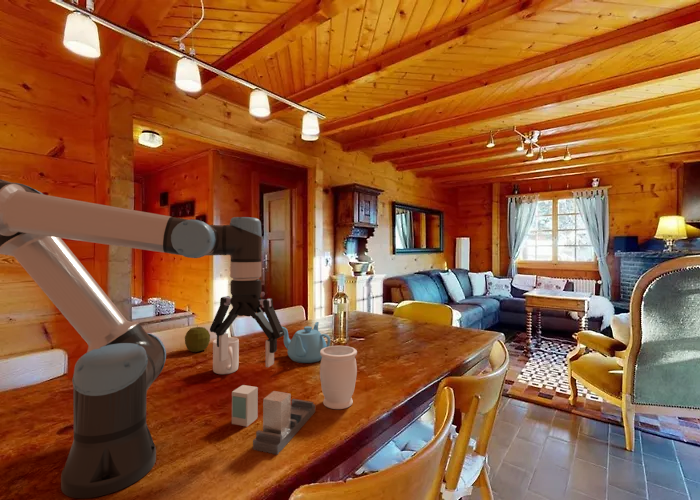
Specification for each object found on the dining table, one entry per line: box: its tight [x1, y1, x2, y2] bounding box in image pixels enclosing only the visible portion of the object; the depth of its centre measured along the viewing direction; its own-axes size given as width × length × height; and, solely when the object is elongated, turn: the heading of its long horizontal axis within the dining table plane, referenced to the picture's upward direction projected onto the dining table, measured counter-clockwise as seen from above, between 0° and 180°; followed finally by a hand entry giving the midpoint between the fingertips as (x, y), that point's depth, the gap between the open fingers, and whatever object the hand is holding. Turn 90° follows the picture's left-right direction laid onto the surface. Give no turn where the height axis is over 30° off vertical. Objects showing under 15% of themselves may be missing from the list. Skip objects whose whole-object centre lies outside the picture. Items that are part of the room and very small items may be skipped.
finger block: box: [231, 384, 259, 428], centre depth 87 cm, size 5×4×8 cm
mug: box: [212, 336, 240, 375], centre depth 120 cm, size 9×12×11 cm
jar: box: [319, 345, 358, 410], centre depth 97 cm, size 11×10×15 cm
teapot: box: [282, 321, 331, 364], centre depth 137 cm, size 17×19×12 cm
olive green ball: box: [184, 325, 211, 353], centre depth 144 cm, size 10×10×11 cm
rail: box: [252, 390, 316, 456], centre depth 83 cm, size 20×6×10 cm, turn 162°
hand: (246, 362), depth 87 cm, fingers open, 13 cm apart
